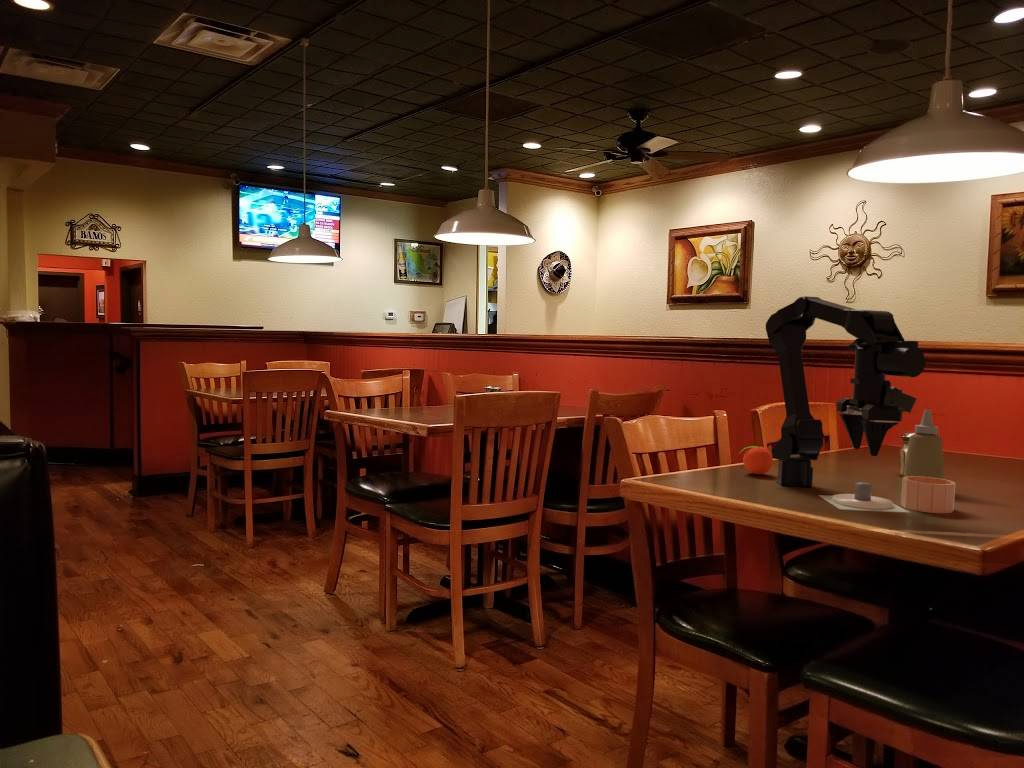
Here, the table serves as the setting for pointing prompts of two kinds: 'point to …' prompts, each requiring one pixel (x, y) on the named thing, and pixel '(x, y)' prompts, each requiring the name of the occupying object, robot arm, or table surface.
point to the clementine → (757, 460)
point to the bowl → (928, 494)
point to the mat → (842, 507)
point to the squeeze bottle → (925, 450)
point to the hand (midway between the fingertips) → (865, 452)
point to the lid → (863, 498)
